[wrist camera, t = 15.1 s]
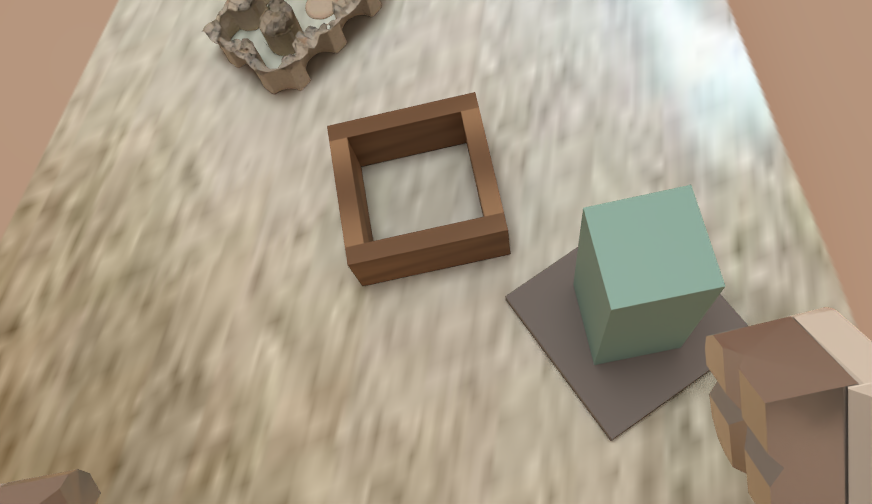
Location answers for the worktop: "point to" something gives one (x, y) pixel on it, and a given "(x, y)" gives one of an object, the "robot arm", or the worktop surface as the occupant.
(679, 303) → the teal block
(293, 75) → the egg carton
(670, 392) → the rubber mat
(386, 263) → the pocket holder
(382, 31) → the worktop surface
